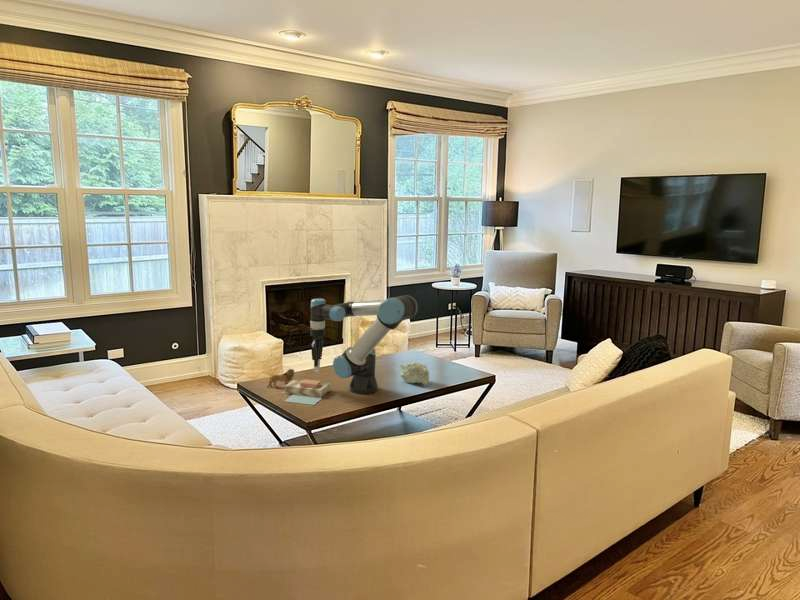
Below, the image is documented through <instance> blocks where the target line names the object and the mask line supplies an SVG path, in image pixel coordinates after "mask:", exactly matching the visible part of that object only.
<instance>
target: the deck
mask: <svg viewBox="0 0 800 600" xmlns="http://www.w3.org/2000/svg"><path fill="white" fill-rule="evenodd" d="M303 380H304V379H295V378H294V379H292V380H291V381H290V382H288V384H287V385H285V384H284V395H285V394H287V395H293V394H295V395H304V396H312V397H322V398H323V397H324V396H326V394H327V392H328V393H329V392H330V391H331V383H330V382H322V381H321V385H320V386H319V387H317V388H310V387H301V386H300V382H302V381H303Z"/></svg>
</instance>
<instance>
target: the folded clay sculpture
mask: <svg viewBox="0 0 800 600" xmlns="http://www.w3.org/2000/svg"><path fill="white" fill-rule="evenodd" d="M399 368H400V370H401V371H400V373H399V374H400V377H401V378H402V380H403V383H406V384H408V383H409V384H415V383H418V384H420V383H421V384H422V386H423V387H426V386H427V385H428V382H429V381H430V372H429V370H428V367H427V365H426V363H424V362H422V363H420V362H418V361H413V362H412V361H411V362H407V365H402V364H400V365H399Z"/></svg>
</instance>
